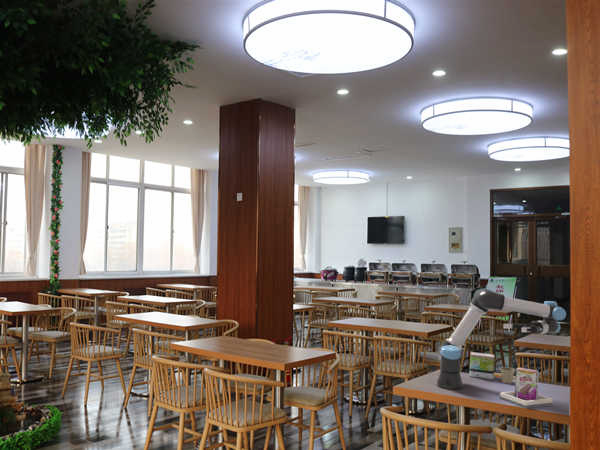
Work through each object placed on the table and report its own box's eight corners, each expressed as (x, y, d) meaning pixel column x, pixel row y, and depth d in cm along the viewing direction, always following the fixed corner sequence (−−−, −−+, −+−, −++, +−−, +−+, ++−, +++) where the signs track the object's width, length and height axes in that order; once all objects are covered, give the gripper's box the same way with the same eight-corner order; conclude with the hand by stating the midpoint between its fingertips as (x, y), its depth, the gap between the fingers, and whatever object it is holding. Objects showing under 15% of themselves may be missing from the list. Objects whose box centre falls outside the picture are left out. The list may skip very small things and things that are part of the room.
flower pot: (495, 380, 343) (496, 367, 343) (507, 380, 346) (508, 366, 347) (506, 384, 334) (506, 370, 335) (518, 384, 337) (518, 370, 338)
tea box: (469, 376, 351) (470, 354, 352) (469, 373, 360) (470, 351, 361) (493, 379, 346) (494, 356, 347) (493, 376, 356) (493, 353, 357)
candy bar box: (514, 398, 297) (515, 368, 298) (516, 396, 301) (517, 367, 302) (536, 402, 291) (537, 371, 292) (537, 400, 295) (538, 370, 296)
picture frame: (499, 398, 300) (500, 392, 300) (525, 396, 309) (525, 390, 309) (525, 408, 284) (526, 401, 284) (552, 405, 292) (552, 398, 292)
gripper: (555, 337, 314) (529, 338, 304) (521, 330, 336) (496, 330, 327) (556, 324, 314) (530, 324, 305) (522, 318, 336) (496, 318, 327)
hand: (512, 327), depth 316 cm, fingers open, 13 cm apart
